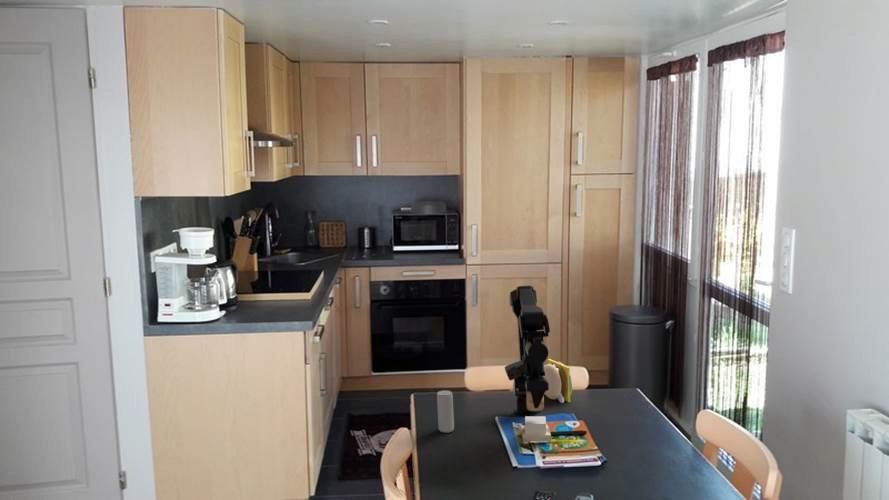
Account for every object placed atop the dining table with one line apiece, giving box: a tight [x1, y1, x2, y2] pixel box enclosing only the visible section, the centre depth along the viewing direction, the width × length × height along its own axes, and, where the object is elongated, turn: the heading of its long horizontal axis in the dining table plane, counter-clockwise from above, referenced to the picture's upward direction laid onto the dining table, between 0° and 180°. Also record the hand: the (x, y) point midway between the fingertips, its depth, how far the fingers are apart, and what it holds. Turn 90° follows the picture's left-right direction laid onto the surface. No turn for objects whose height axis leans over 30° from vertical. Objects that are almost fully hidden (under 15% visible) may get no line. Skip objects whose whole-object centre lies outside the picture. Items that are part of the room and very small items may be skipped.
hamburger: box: [543, 358, 573, 404], centre depth 242 cm, size 12×8×12 cm
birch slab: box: [520, 424, 552, 443], centre depth 209 cm, size 8×8×3 cm
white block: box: [524, 415, 547, 434], centre depth 209 cm, size 6×6×3 cm
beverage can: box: [436, 389, 455, 434], centre depth 218 cm, size 5×5×12 cm
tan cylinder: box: [526, 391, 545, 412], centre depth 208 cm, size 5×5×5 cm
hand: (535, 404), depth 208 cm, fingers closed on tan cylinder, 5 cm apart
